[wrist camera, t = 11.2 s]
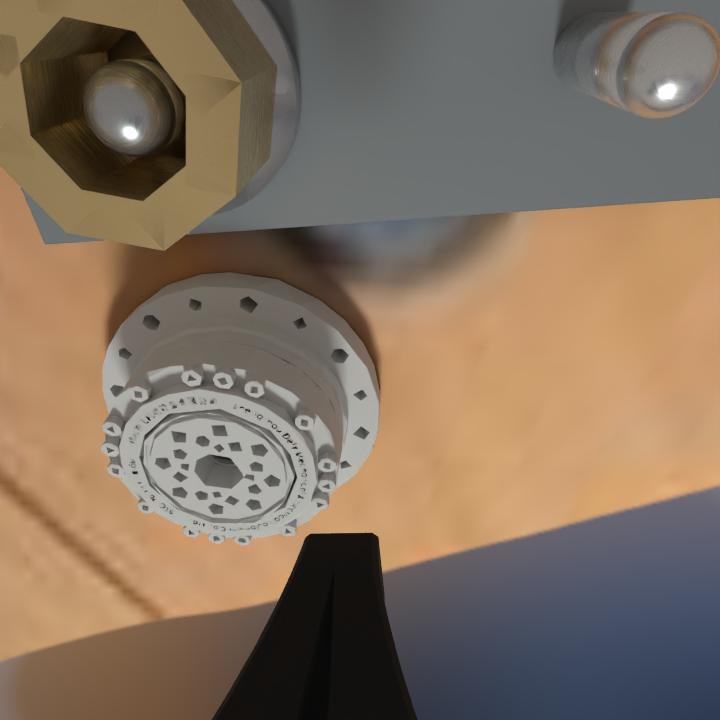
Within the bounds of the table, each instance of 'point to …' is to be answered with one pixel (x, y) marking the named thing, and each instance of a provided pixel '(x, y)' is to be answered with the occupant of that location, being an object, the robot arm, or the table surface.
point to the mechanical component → (237, 405)
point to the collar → (99, 162)
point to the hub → (168, 103)
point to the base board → (461, 119)
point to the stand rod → (639, 59)
